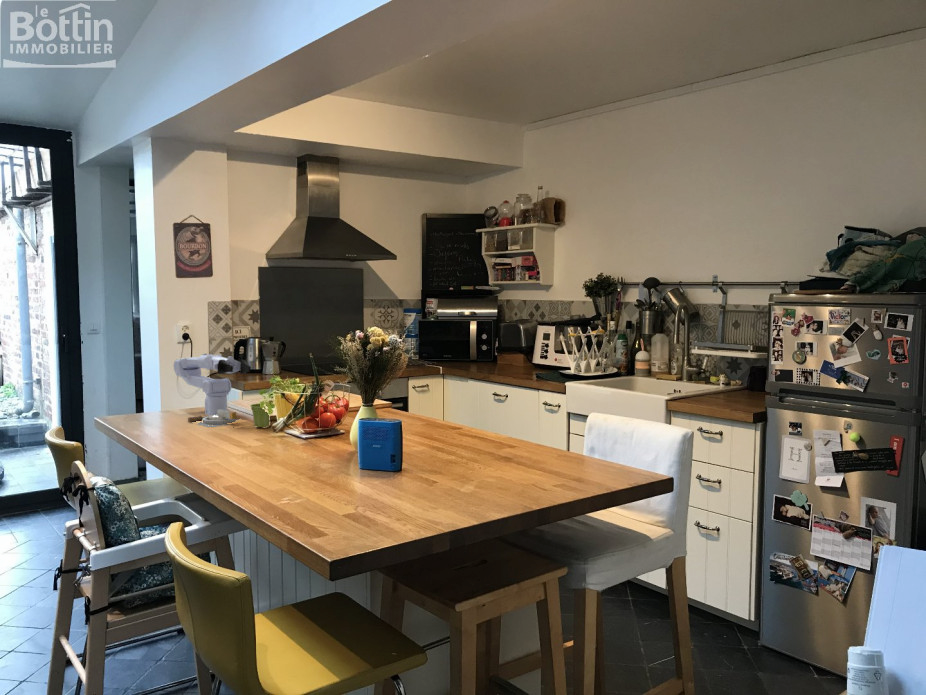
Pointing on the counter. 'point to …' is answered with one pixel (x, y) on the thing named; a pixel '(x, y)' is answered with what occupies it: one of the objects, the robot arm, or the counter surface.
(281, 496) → the counter surface
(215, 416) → the dial
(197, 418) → the screwdriver
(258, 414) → the plant pot
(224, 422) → the board
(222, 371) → the robot arm
